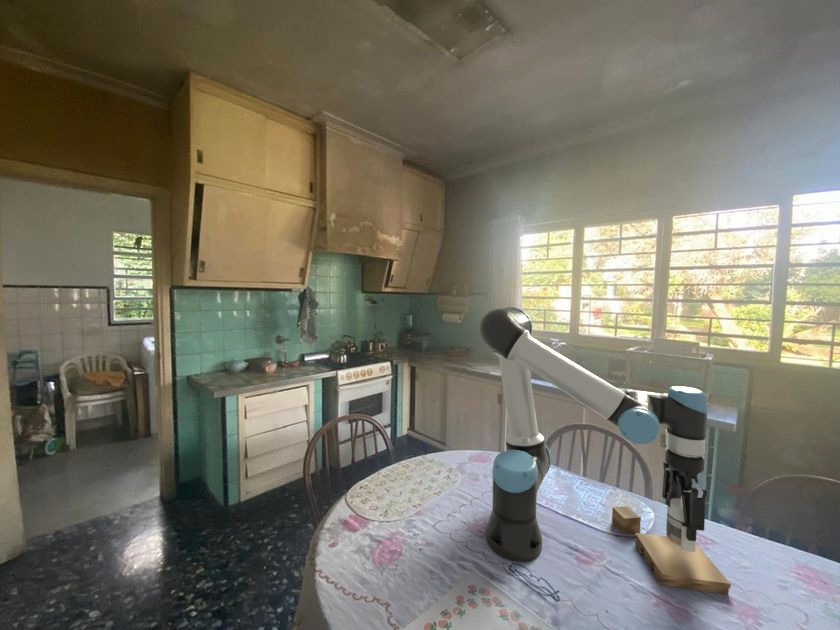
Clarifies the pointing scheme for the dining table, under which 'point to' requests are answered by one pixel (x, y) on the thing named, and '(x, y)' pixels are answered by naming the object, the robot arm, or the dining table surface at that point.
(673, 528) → the pill bottle
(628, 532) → the wooden cube
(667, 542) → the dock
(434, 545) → the dining table surface
